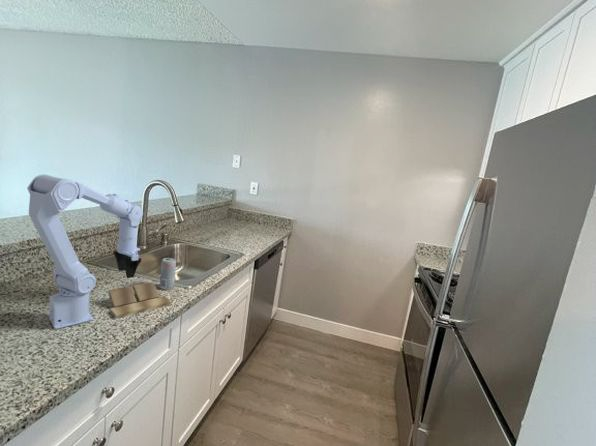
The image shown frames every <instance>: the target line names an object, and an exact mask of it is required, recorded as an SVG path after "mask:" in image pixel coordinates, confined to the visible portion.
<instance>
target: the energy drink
mask: <svg viewBox="0 0 596 446" xmlns="http://www.w3.org/2000/svg"><path fill="white" fill-rule="evenodd" d="M160 267H161V269H160V280H159V281H160V282H159V288H160V289H161V290H163V291H171V290H173V289H174V288H175V281H176V280H175V279H176V270H177V269H176V268H177V260H176V259H175V257H174V258H173V257H165V258H162V260H161V265H160Z"/></svg>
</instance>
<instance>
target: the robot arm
mask: <svg viewBox="0 0 596 446" xmlns="http://www.w3.org/2000/svg"><path fill="white" fill-rule="evenodd" d="M26 189H27V191H28V193H29V205H28V215H29V218H30V220H31V222H32V224H33V225H34V227H35V229H36V231H37V233H38V235H39V237H40V239H41V241H42V243H43V244H44V247H45V248H46V250H47V252H48V254H49V256H50V258H51V260H52V263H53V264H54V265H55V267H54V268H53V269H52V272H53V278H54V279H53V282H54V284H55V286H57V287H58V291H59V292H57V293H55V294H53V295H50V296H49V316H48V318H49V319H48V320H49V321H50V323H51V325H52V326H53V328H54V329H55V330H57V329H62V328H67V327H70V326H73V325H74V326H75V325H80V324H82V323H86V322H90V321H94V317H93V315H92V314H90V294H91V292H92V290H94V288H95V286H96V283H97V279H96V276H95V275H94V274H92V273H90V271H89V269H88V268H87V267H86V266H85V265H84V264H83V263H81V262H80V261H79V258H78V256H77V254H76V252H75V250H74V247H73V245H72V243H71V241H70V238H69V236H68V234H67V232H66V230H65V228H64V226H63V224H62V221H61V219H60V217H59V215H60V214H61V213H62V212H64V210H66V209H67V208H68V207H69V206H70V205H71V204H72V203H73V202H75V200H81V199H84V200H87V201H89V202H92V203H94V204H98V205H99V207H100V209H101V210H102V211H103V212H106V213H109V214H111V215H113V216H116V217H117V218H119V221H118V223H119V225H118V227H119V228H118V241H117V242H118V243H117V244H116V251H115V250H114V251H112V254H113V255H114V257H115V260H116V264H117V270H118V271H119V272H121V271H123V272H124V271H125V276H126V278H127V279H131V278H134V276H135V275H136V272H137V269H138V266H140V264H141V262H142V258H141V257H140V256H139V254H138V252H139V251H141V248H140V247H138V234H139V231H138V230H139V225H140V224H141V223H140V222H141V219H142V217H143V215H144V212H143V210H142V208H141V207H140V205H137V204H133V203H131V201H130V200H128V199H123V198H120V195H119V194H116V193H113V194H111V193H107V194H103V193H101V192H99V191H98V190H95V189H93V188H91V187H89V186H87V185H85V184H84V183H81V182H78V181H74V180H72V179H67V178H61V177H55V176H52V175H49V174H38V175H37V176H35V177H34V178H33V179H32V180H31V182H30V184H28V185H27V188H26Z"/></svg>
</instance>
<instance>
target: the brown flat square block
mask: <svg viewBox="0 0 596 446" xmlns="http://www.w3.org/2000/svg"><path fill="white" fill-rule="evenodd" d="M107 293H108V296H109V299H110V301H111V303H112V308H115V307H119V306H124V305H128V304H133V303H137V302H138V299H137V297H136V294H135V292H134V290H133V287H132V286H130V285H129V286H123V287H119V288H113V289H108V292H107Z"/></svg>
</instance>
